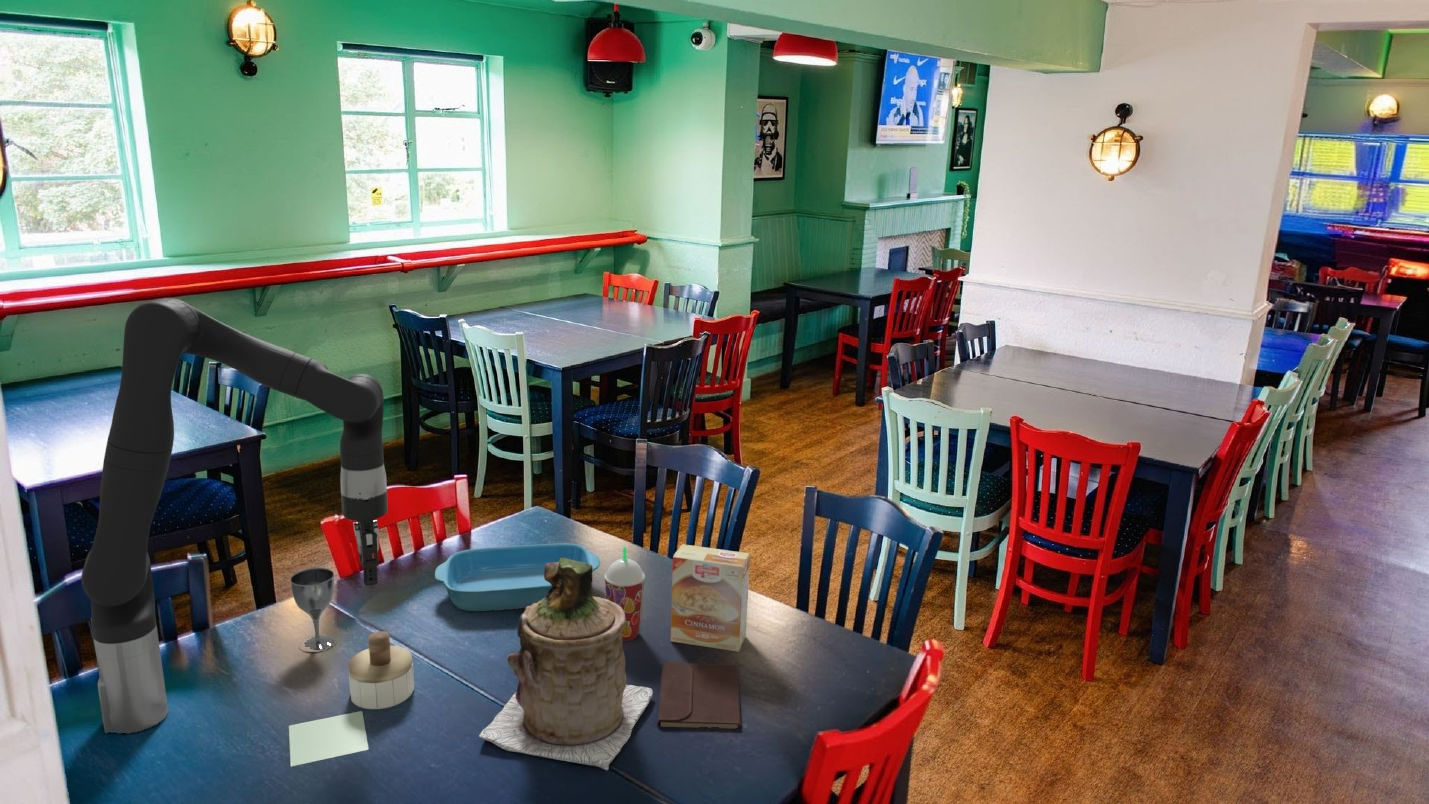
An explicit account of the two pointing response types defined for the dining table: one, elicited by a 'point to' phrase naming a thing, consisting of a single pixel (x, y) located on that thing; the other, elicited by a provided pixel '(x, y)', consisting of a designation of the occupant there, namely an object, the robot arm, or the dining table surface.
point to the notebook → (699, 695)
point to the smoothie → (626, 592)
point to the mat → (327, 738)
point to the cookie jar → (570, 676)
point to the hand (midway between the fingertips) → (368, 574)
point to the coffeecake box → (709, 597)
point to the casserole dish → (505, 574)
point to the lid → (380, 660)
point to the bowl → (382, 691)
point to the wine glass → (314, 600)
